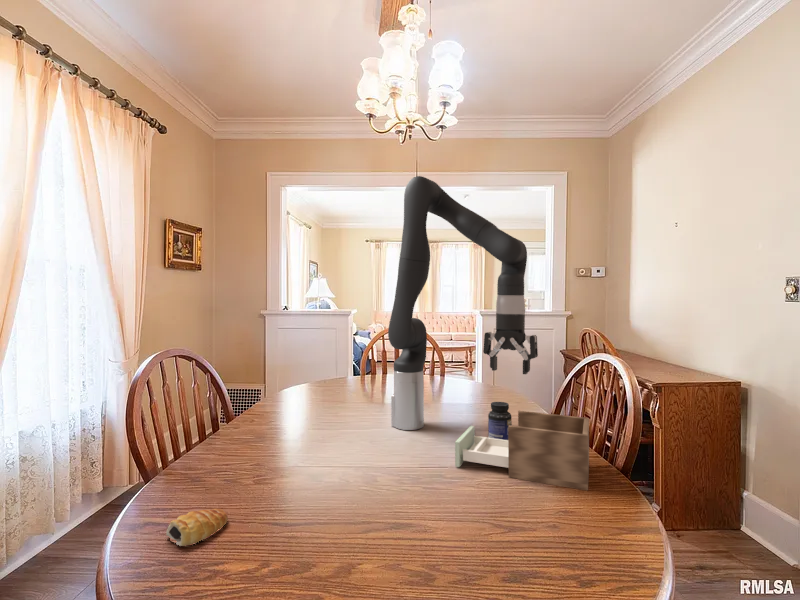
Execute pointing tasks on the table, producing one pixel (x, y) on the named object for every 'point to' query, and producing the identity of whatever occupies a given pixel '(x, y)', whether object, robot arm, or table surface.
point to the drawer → (481, 449)
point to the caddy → (550, 449)
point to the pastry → (196, 526)
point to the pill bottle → (499, 420)
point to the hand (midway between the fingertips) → (509, 372)
